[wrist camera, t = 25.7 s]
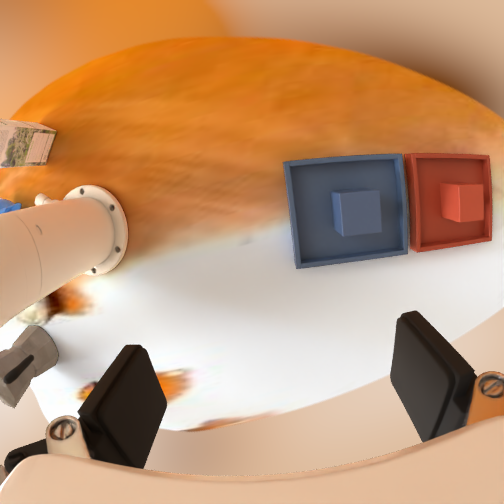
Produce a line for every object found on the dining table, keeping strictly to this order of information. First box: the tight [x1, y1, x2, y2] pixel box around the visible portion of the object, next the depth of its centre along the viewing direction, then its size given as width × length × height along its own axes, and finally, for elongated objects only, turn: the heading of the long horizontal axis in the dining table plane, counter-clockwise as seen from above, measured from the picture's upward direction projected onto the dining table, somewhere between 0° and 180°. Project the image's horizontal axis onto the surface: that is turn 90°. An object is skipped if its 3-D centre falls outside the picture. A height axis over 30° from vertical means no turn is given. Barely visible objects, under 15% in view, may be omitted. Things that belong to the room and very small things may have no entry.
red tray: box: [405, 153, 492, 252], centre depth 30 cm, size 14×12×2 cm
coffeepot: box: [0, 325, 59, 408], centre depth 33 cm, size 15×9×18 cm, turn 120°
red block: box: [440, 182, 484, 222], centre depth 29 cm, size 4×4×4 cm
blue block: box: [330, 188, 382, 237], centre depth 30 cm, size 4×4×4 cm
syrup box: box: [0, 119, 57, 168], centre depth 26 cm, size 6×6×14 cm
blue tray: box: [283, 154, 408, 269], centre depth 32 cm, size 14×12×2 cm
